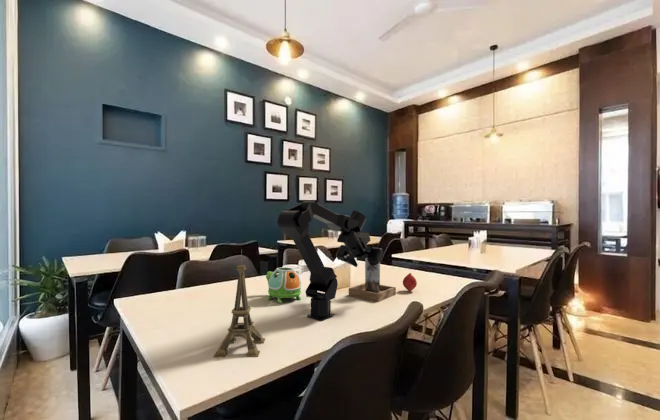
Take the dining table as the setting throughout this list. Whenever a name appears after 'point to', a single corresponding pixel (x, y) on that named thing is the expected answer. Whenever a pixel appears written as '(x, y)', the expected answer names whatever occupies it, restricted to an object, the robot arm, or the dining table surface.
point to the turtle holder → (284, 284)
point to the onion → (409, 282)
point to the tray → (361, 293)
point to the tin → (372, 278)
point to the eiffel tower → (241, 328)
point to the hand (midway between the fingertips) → (366, 267)
